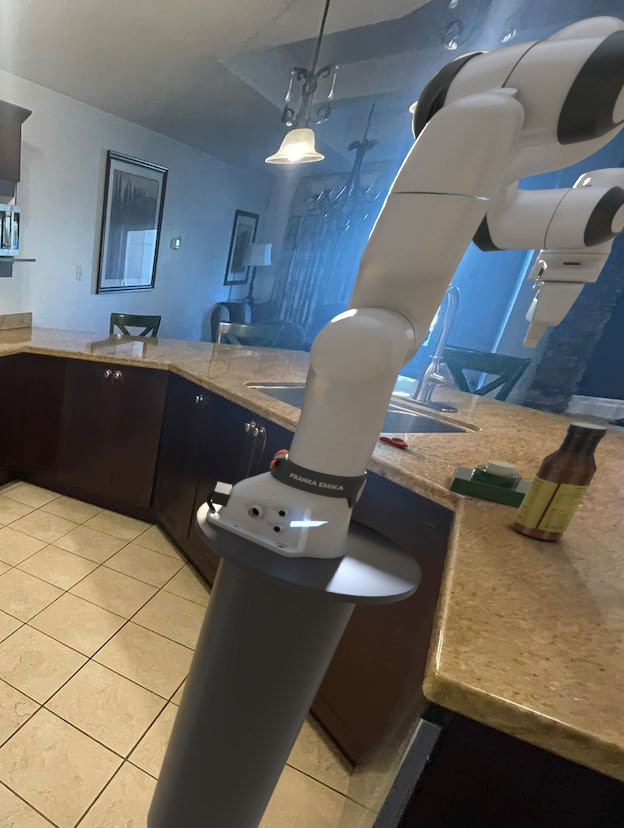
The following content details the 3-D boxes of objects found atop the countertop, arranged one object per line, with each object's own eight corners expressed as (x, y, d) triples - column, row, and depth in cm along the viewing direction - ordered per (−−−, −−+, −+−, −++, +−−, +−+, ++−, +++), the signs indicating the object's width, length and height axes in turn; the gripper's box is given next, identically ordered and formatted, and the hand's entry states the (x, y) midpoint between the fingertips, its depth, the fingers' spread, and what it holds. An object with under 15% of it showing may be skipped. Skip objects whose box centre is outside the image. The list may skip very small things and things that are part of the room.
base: (449, 490, 103) (459, 468, 101) (451, 477, 110) (460, 457, 108) (529, 510, 96) (542, 486, 94) (526, 495, 102) (538, 473, 100)
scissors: (397, 440, 133) (399, 437, 133) (434, 459, 121) (436, 455, 120) (376, 439, 134) (378, 435, 133) (410, 457, 121) (412, 453, 121)
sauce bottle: (562, 536, 86) (627, 428, 78) (555, 546, 82) (623, 434, 74) (511, 521, 91) (568, 418, 83) (503, 529, 87) (560, 423, 79)
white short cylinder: (484, 472, 101) (489, 463, 100) (484, 467, 103) (489, 458, 103) (511, 478, 98) (516, 469, 97) (510, 473, 101) (515, 464, 100)
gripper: (536, 272, 100) (504, 341, 106) (545, 269, 86) (507, 349, 92) (582, 273, 96) (546, 345, 102) (598, 271, 82) (556, 354, 88)
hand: (528, 347), depth 97 cm, fingers closed
